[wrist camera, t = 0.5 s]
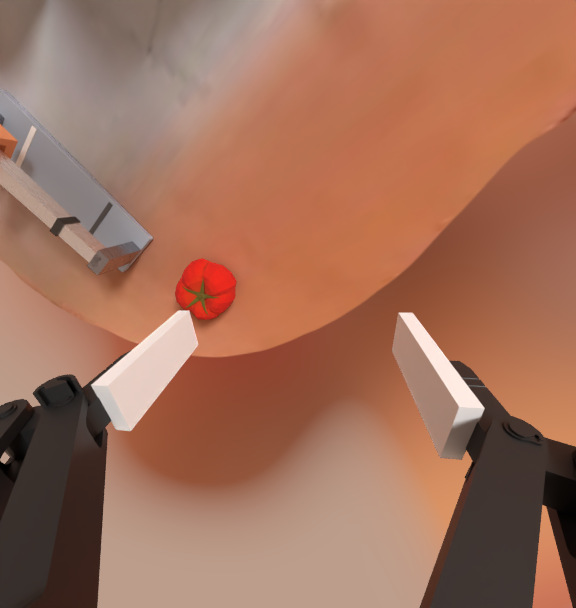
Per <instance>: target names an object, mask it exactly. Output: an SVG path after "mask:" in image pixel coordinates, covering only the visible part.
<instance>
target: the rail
mask: <svg viewBox="0 0 576 608" xmlns="http://www.w3.org/2000/svg"><path fill="white" fill-rule="evenodd" d="M4 119H5V118H4V117H3V116H2V115H1V114H0V124H1V125H2V124H3V121H4ZM0 184H1V185H2V186H3V187H4V188H5V189H6V190H7V191H8V192H10V193H11V194H12V195H13V196H14V197H15V198H16V199H18V200H19V201H20V202H21V203H22V204H23V205H24V206H25V207H27V208H28V209H29V210H30V211H31V212H32V213H33V214H34V215H36V216H37V217H38V218H39V219H40V220H41V221H42V222H44V223H45V224H46V225H47V226H48V227H49V228H50V229H51V230H50V231H51V232H52V233H53V234H54V235H55V236H59V237H60V238H62V239H63V240H64V241H65V242H66V243H67V244H68V245H69V246H71V247H72V248H73V249H74V250H75V251H76V252H77V253H79V254H80V255H81V256H82V257H83V258H84V259H85V260H86V261H88V262H89V264H88V265H87V266H88V267H89V268H90V269H91V270H92V271H93V272H94V273H95V274H97V275H100V274H102V273H105V272H108V271H110V270H113V269H116V268H118V267H121V266H124V265H126V264H129V263H131V261H132V260H133V259H134V258H135V257H136V255H137V254H138V253H139V252H140V251H141V249H140V248H139V247H138V246H137V245H136V244H135V243H134V242H133V241H131V242H127V243H123V244H120V245H116V246H112V247H108V248H106V247H105V246H104V245H103V244H102V243H101V242H100V241H98V240H97V239H96V238H95V237H94V236H93V235H92V234H91V233H90V232H89V231H88V230H87V229H85V228H84V227H83V226H82V225H81V224H80V222H81V221H80V220H79V219H77V218H76V217H75V216H74V217H73V216H71V215H70V214H69V213H68V212H67V211H66V210H65V209H64V208H63V207H62V206H61V205H60V204H58V203H57V202H56V201H55V200H54V199H53V198H52V197H51V196H50V195H49V194H48V193H47V192H45V191H44V190H43V189H42V188H41V187H40V186H39V185H38V184H37V183H36V182H35V181H34V180H33V179H31V178H30V177H29V176H28V175H27V174H26V173H25V172H24V171H23V170H22V169H21V168H20V167H18V166H17V165H16V164H15V163H14V162H13V161H12V160H11V159H10V158H9V157H8V156H7V155H6V154H4V153H3V152H2V151H1V150H0Z"/></svg>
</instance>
